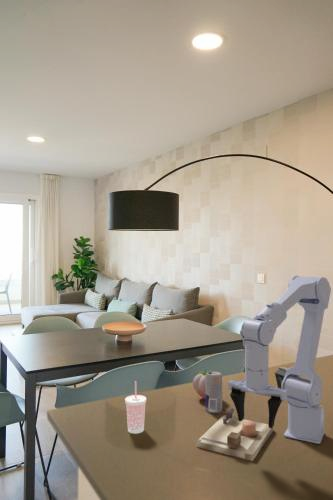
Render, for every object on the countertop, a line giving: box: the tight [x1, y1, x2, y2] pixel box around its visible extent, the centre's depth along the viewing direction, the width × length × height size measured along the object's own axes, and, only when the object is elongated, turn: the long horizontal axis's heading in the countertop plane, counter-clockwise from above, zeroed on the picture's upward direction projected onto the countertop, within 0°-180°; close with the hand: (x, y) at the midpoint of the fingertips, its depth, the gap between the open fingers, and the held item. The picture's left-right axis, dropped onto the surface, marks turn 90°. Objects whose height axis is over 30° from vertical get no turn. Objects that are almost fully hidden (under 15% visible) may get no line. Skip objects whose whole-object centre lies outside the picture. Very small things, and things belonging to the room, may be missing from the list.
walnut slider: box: [227, 432, 242, 449], centre depth 105 cm, size 2×3×2 cm
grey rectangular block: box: [225, 408, 235, 420], centre depth 120 cm, size 1×3×3 cm, turn 151°
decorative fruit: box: [192, 369, 207, 400], centre depth 141 cm, size 9×8×10 cm
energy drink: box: [204, 370, 223, 414], centre depth 132 cm, size 5×5×12 cm
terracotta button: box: [241, 420, 257, 438], centre depth 112 cm, size 4×4×3 cm
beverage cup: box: [124, 380, 147, 434], centre depth 117 cm, size 6×6×14 cm
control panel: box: [196, 414, 274, 462], centre depth 112 cm, size 15×19×3 cm
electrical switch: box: [274, 366, 301, 389], centre depth 145 cm, size 9×5×9 cm, turn 30°
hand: (256, 423), depth 102 cm, fingers open, 7 cm apart
